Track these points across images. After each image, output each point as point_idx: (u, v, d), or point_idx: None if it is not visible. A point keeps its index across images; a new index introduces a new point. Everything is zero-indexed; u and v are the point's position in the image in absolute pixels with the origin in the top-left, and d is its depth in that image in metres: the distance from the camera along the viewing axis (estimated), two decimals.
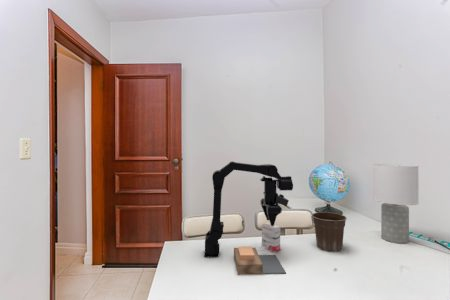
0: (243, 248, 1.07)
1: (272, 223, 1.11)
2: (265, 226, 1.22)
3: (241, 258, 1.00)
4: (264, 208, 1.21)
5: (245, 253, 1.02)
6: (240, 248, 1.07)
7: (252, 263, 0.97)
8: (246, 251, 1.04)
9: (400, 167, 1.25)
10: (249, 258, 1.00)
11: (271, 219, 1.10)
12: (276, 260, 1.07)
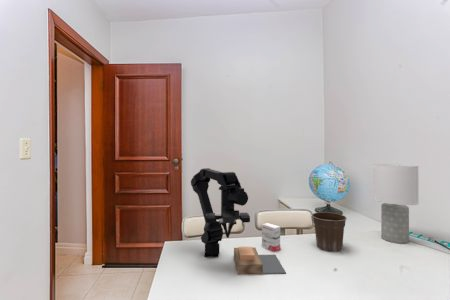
0: (243, 248, 1.07)
1: None
2: (265, 226, 1.22)
3: (241, 258, 1.00)
4: None
5: (245, 253, 1.02)
6: (240, 248, 1.07)
7: (252, 263, 0.97)
8: (246, 251, 1.04)
9: (400, 167, 1.25)
10: (249, 258, 1.00)
11: None
12: (276, 260, 1.07)
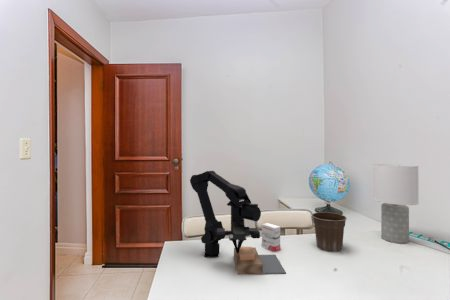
0: (243, 248, 1.07)
1: (235, 249, 1.04)
2: (265, 226, 1.22)
3: (241, 258, 1.00)
4: None
5: (245, 253, 1.02)
6: (240, 248, 1.07)
7: (252, 263, 0.97)
8: (247, 251, 1.04)
9: (400, 167, 1.25)
10: (249, 258, 1.00)
11: None
12: (276, 260, 1.07)
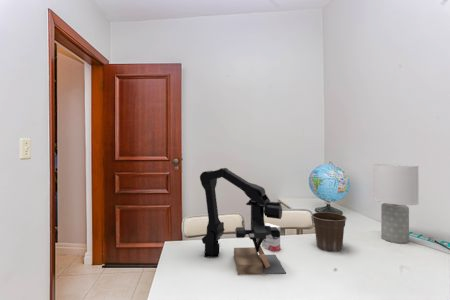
0: None
1: (255, 248, 1.05)
2: None
3: (261, 255, 1.00)
4: None
5: None
6: (261, 248, 1.07)
7: (252, 263, 0.97)
8: None
9: (400, 167, 1.25)
10: (265, 262, 1.00)
11: None
12: (276, 260, 1.07)
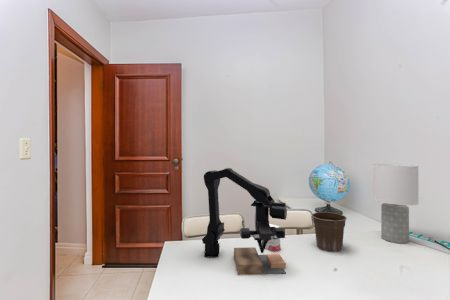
0: None
1: (260, 249, 1.05)
2: None
3: (284, 264, 1.01)
4: None
5: None
6: None
7: (252, 263, 0.97)
8: None
9: (400, 167, 1.25)
10: (276, 264, 1.00)
11: (258, 244, 1.06)
12: None
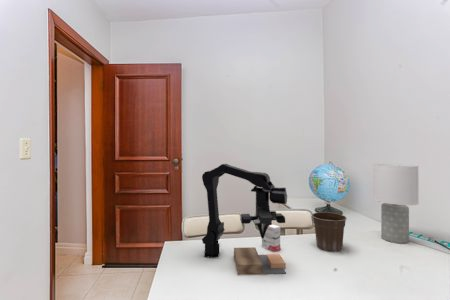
0: None
1: None
2: None
3: (284, 264, 1.01)
4: (262, 223, 1.07)
5: None
6: None
7: (252, 263, 0.97)
8: None
9: (400, 167, 1.25)
10: (276, 264, 1.00)
11: (259, 230, 1.06)
12: None
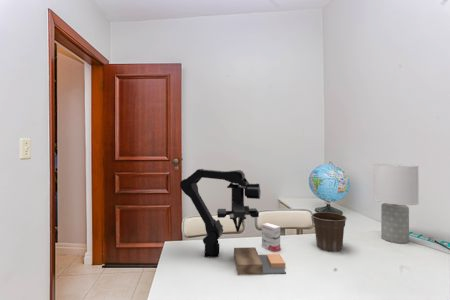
0: None
1: None
2: (265, 226, 1.22)
3: (284, 264, 1.01)
4: (238, 217, 1.13)
5: None
6: None
7: (252, 263, 0.97)
8: None
9: (400, 167, 1.25)
10: (276, 264, 1.00)
11: None
12: None
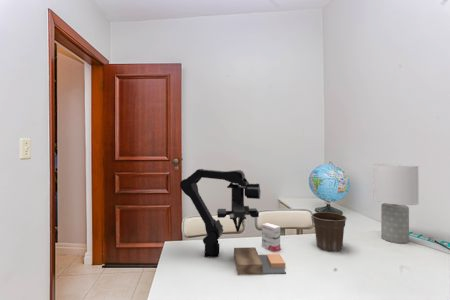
0: None
1: None
2: (265, 226, 1.22)
3: (284, 264, 1.01)
4: (238, 217, 1.13)
5: None
6: None
7: (252, 263, 0.97)
8: None
9: (400, 167, 1.25)
10: (276, 264, 1.00)
11: None
12: None
